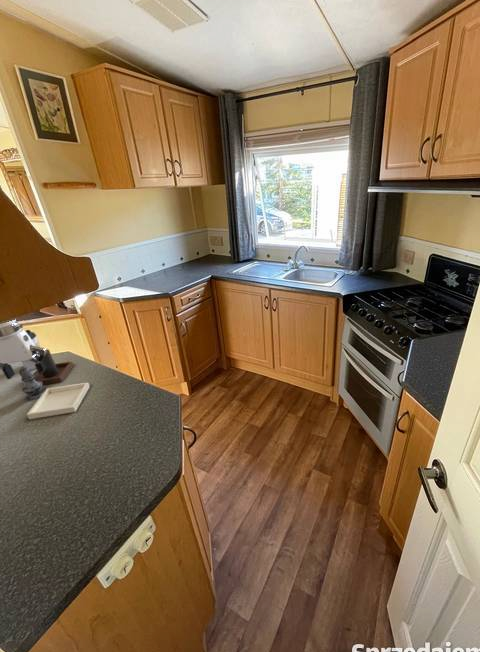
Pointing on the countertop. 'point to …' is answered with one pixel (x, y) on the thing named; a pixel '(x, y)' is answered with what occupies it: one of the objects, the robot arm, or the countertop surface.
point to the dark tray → (63, 371)
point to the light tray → (59, 400)
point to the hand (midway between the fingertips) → (27, 374)
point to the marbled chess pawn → (31, 384)
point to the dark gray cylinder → (49, 365)
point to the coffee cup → (32, 335)
